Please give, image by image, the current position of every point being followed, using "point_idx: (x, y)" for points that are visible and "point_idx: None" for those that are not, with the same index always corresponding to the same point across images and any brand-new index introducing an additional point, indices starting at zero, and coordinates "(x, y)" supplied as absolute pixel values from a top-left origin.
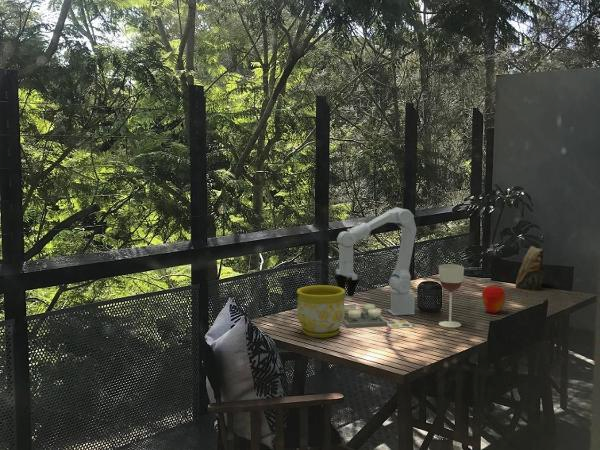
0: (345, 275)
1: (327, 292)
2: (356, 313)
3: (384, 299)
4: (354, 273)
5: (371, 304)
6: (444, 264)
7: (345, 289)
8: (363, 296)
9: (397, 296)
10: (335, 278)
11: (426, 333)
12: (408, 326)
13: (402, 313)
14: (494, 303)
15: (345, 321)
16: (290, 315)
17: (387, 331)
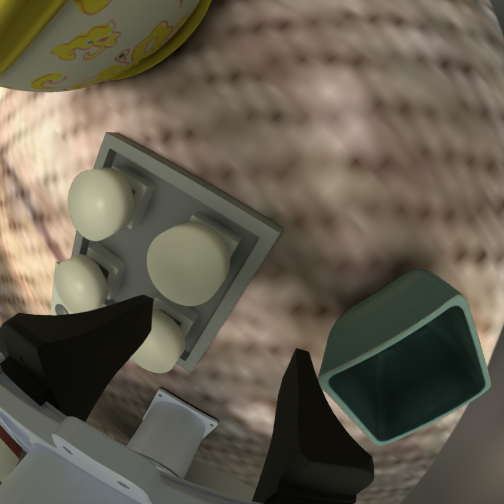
0: (26, 402)
1: (43, 9)
2: (71, 191)
3: None
4: (18, 443)
5: (154, 367)
6: (1, 481)
7: (371, 439)
8: (400, 472)
9: (133, 444)
10: (340, 444)
11: (18, 287)
12: (53, 307)
13: (152, 406)
14: None
15: (138, 155)
16: (475, 84)
17: (44, 229)
